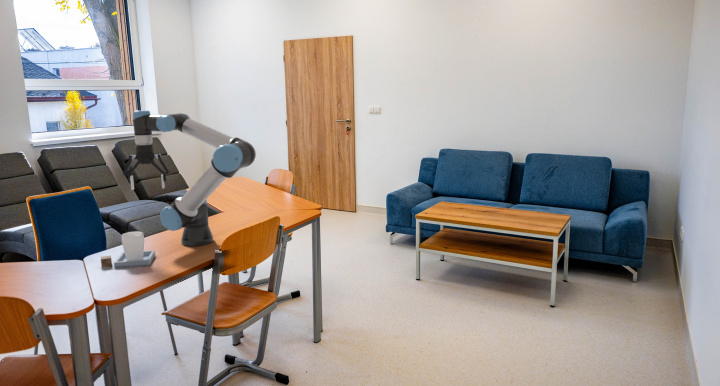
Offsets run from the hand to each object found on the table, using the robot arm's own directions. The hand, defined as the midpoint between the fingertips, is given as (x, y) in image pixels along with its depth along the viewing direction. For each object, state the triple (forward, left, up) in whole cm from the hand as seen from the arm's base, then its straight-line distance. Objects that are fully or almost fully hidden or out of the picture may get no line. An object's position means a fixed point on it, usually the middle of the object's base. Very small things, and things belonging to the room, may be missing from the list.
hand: (148, 189), depth 236 cm
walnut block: (+15, +24, -29) cm, 40 cm away
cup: (+4, +21, -28) cm, 35 cm away
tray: (+4, +21, -29) cm, 36 cm away
